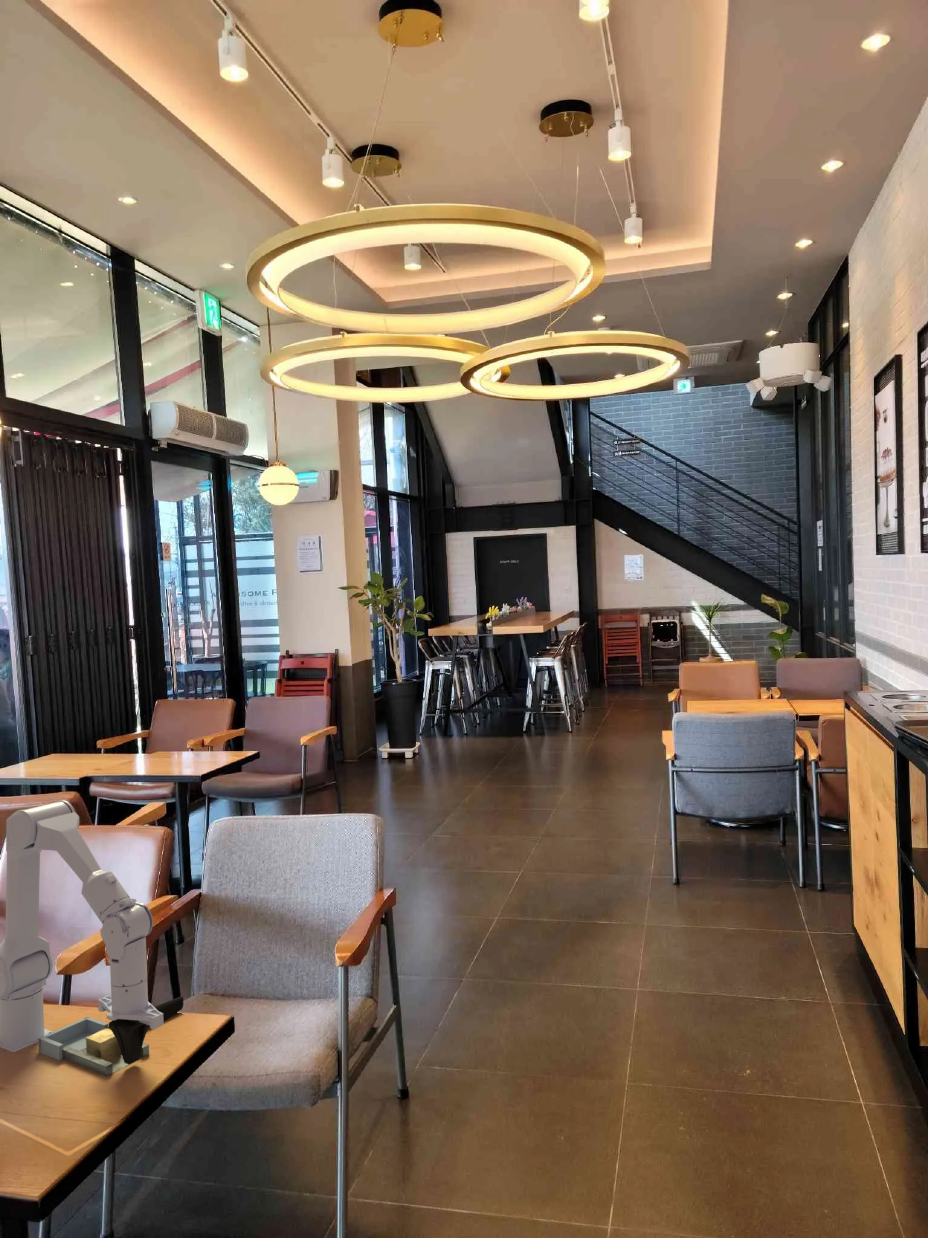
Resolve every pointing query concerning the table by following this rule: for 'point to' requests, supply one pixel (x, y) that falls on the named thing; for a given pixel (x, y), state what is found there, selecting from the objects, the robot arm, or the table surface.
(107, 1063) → the slot bed
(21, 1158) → the table surface
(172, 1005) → the electric trimmer
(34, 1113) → the table surface
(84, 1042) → the tray
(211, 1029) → the table surface
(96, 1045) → the yellow cube
